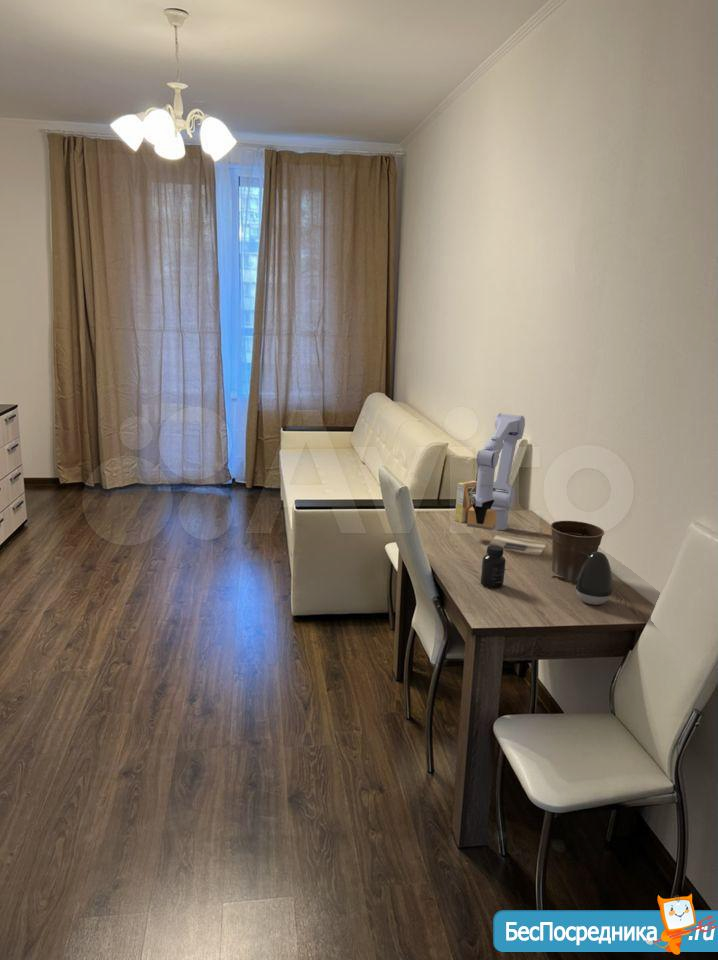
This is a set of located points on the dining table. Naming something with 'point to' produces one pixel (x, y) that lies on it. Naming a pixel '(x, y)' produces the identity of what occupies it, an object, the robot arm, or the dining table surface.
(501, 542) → the board
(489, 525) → the block
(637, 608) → the dining table surface
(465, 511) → the candy box
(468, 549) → the dining table surface
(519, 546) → the graphite strip
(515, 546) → the graphite strip
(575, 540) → the plant pot
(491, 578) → the supplement bottle
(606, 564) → the black egg shaped device
